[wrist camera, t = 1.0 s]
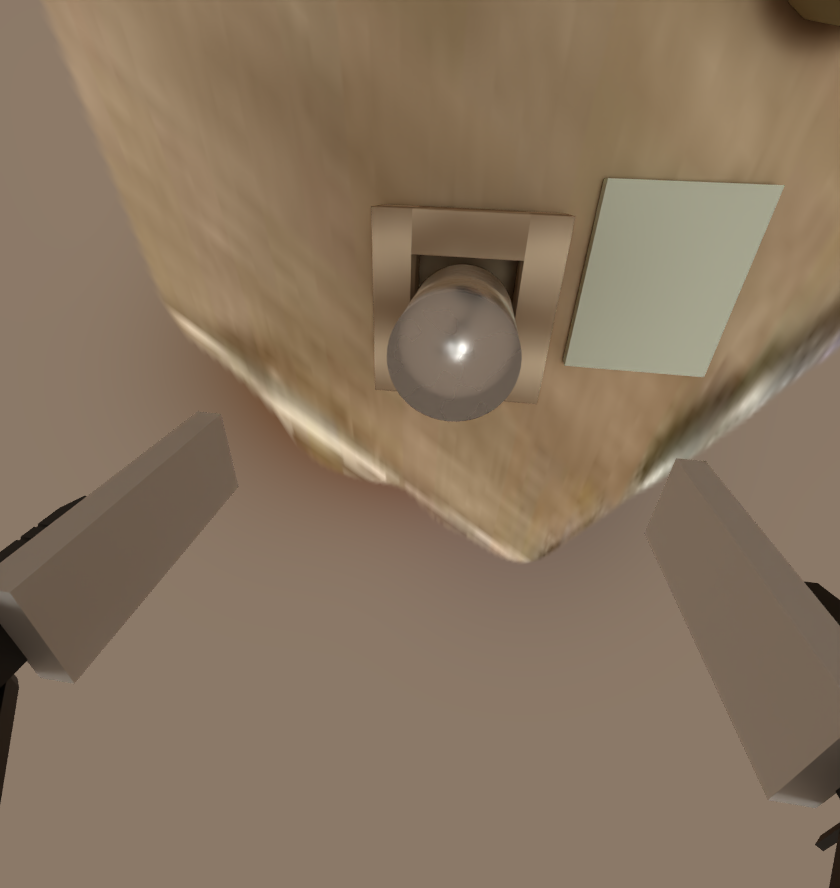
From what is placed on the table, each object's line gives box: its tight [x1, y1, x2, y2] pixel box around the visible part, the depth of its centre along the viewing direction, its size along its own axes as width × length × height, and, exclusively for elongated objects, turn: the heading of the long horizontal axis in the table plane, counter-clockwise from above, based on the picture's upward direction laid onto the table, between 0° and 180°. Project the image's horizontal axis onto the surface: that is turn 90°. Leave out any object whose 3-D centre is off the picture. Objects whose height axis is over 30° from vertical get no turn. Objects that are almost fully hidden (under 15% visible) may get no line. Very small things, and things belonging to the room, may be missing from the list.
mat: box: [563, 178, 785, 377], centre depth 29 cm, size 12×10×1 cm
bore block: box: [371, 204, 575, 404], centre depth 30 cm, size 12×12×4 cm
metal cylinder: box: [387, 264, 522, 421], centre depth 26 cm, size 6×6×13 cm
